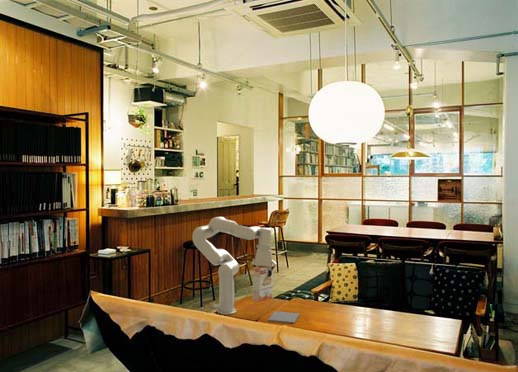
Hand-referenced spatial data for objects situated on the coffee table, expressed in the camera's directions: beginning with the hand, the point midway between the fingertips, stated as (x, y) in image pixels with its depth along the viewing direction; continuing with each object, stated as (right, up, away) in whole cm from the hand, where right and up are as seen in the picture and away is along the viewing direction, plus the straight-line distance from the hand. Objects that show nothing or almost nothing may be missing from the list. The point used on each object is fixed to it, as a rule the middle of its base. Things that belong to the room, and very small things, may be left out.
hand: (263, 275), depth 272 cm
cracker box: (-1, -15, 0) cm, 15 cm away
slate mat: (+13, -25, -4) cm, 29 cm away
